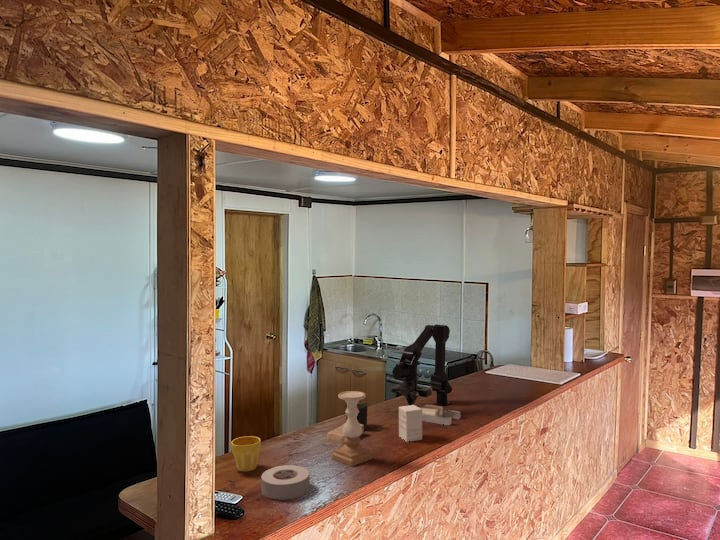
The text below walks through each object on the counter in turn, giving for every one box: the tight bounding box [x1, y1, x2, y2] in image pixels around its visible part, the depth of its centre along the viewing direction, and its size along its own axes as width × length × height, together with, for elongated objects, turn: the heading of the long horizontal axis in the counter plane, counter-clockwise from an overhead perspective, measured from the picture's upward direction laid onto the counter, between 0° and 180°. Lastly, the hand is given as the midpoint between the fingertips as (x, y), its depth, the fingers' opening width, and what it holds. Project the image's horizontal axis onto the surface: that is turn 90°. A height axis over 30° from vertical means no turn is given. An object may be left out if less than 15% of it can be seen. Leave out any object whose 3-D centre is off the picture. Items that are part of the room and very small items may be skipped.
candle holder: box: [331, 390, 373, 467], centre depth 202 cm, size 11×11×24 cm
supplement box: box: [398, 404, 423, 443], centre depth 224 cm, size 7×7×13 cm
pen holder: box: [345, 403, 369, 430], centre depth 238 cm, size 9×9×10 cm
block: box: [420, 404, 444, 416], centre depth 251 cm, size 8×8×5 cm
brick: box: [326, 422, 365, 447], centre depth 224 cm, size 17×8×5 cm, turn 150°
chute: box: [422, 408, 462, 426], centre depth 250 cm, size 13×18×3 cm
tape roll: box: [260, 464, 311, 501], centre depth 176 cm, size 15×15×5 cm
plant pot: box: [230, 435, 262, 472], centre depth 193 cm, size 10×10×10 cm
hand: (411, 408), depth 257 cm, fingers closed
